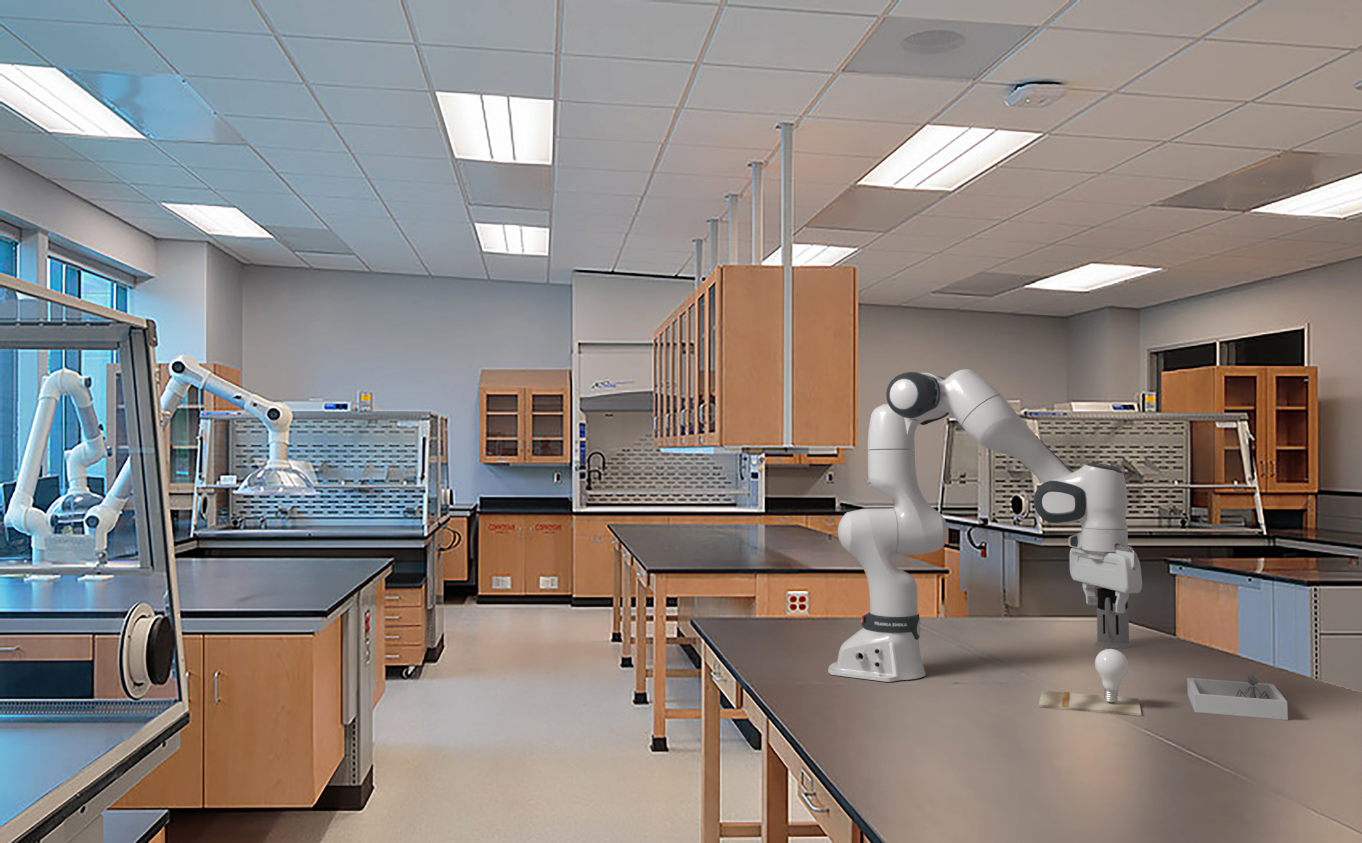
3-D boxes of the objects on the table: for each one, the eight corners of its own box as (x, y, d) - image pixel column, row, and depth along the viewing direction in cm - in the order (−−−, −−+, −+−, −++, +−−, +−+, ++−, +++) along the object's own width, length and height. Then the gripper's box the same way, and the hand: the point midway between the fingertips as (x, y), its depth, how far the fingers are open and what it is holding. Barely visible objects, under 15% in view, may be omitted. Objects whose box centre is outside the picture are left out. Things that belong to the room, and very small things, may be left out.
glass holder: (1133, 644, 268) (1132, 588, 268) (1125, 653, 256) (1123, 595, 256) (1098, 641, 272) (1097, 586, 273) (1089, 649, 260) (1088, 592, 261)
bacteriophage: (1236, 710, 199) (1236, 676, 199) (1231, 701, 206) (1230, 668, 207) (1276, 713, 196) (1275, 679, 197) (1269, 704, 204) (1269, 671, 204)
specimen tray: (1194, 712, 197) (1194, 694, 197) (1187, 694, 212) (1187, 677, 212) (1287, 719, 191) (1287, 701, 191) (1273, 700, 206) (1273, 683, 206)
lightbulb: (1132, 707, 199) (1133, 652, 199) (1099, 705, 199) (1100, 651, 200) (1121, 700, 205) (1122, 646, 205) (1089, 698, 206) (1091, 645, 206)
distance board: (1038, 706, 201) (1038, 703, 202) (1041, 692, 213) (1041, 689, 214) (1141, 715, 194) (1141, 712, 194) (1138, 700, 206) (1138, 697, 206)
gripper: (1150, 546, 194) (1151, 617, 194) (1090, 536, 215) (1091, 600, 214) (1121, 547, 193) (1121, 618, 193) (1063, 537, 214) (1064, 601, 213)
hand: (1105, 608), depth 204 cm, fingers open, 8 cm apart
